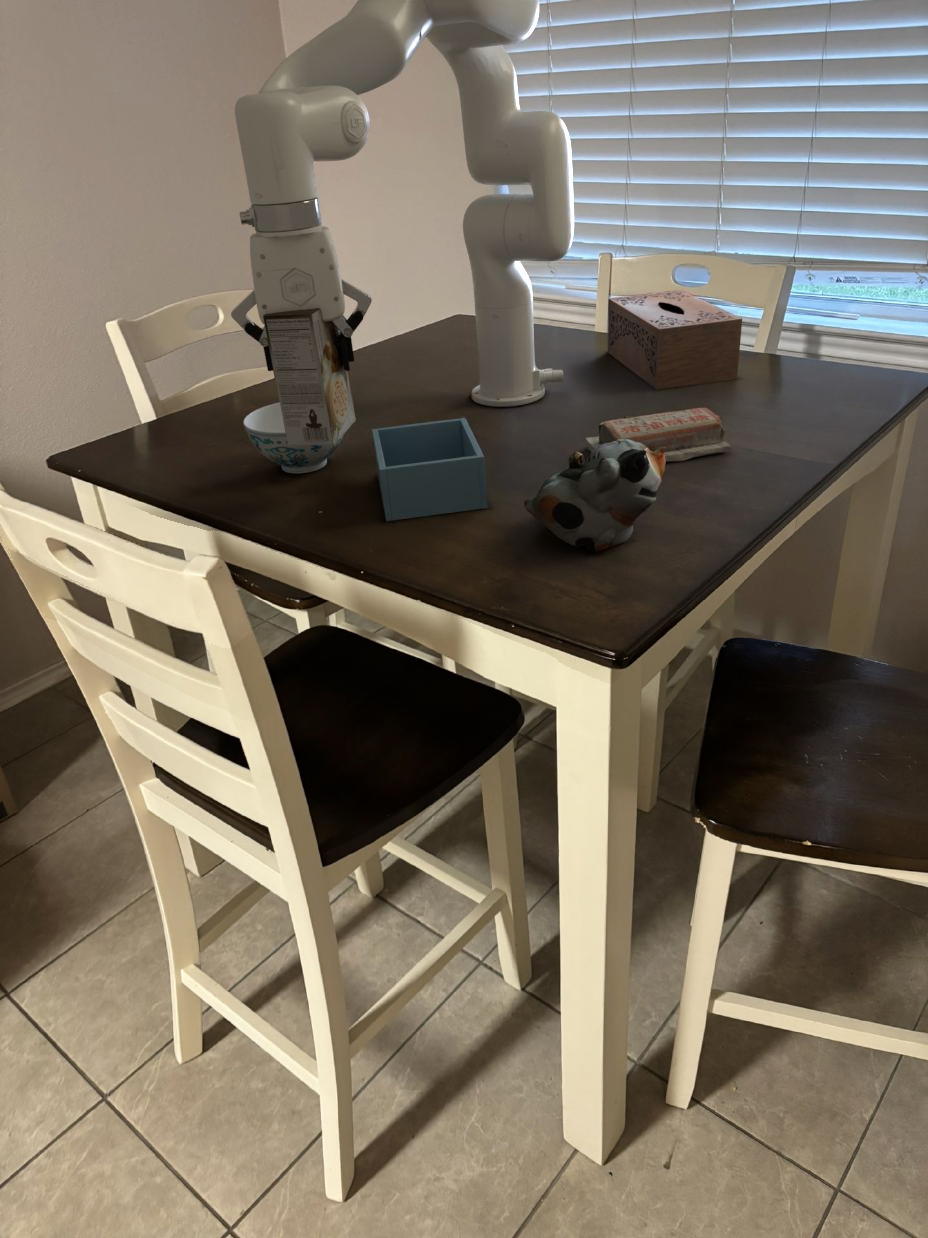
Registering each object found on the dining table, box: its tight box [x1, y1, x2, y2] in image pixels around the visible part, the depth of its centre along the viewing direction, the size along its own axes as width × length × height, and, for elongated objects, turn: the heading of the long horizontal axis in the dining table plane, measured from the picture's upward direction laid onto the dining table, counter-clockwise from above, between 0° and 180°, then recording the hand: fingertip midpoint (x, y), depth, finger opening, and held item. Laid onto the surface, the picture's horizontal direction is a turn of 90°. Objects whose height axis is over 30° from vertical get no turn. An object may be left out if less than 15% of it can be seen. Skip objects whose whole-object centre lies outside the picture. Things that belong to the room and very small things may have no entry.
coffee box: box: [263, 308, 357, 446], centre depth 110 cm, size 9×6×16 cm
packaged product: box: [585, 407, 732, 462], centre depth 126 cm, size 18×5×10 cm
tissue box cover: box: [607, 289, 743, 391], centre depth 160 cm, size 26×14×10 cm, turn 11°
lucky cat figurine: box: [523, 439, 667, 553], centre depth 103 cm, size 15×12×14 cm
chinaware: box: [242, 401, 345, 474], centre depth 131 cm, size 15×15×8 cm
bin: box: [371, 417, 488, 522], centre depth 119 cm, size 13×16×7 cm
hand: (312, 371), depth 110 cm, fingers closed on coffee box, 8 cm apart
